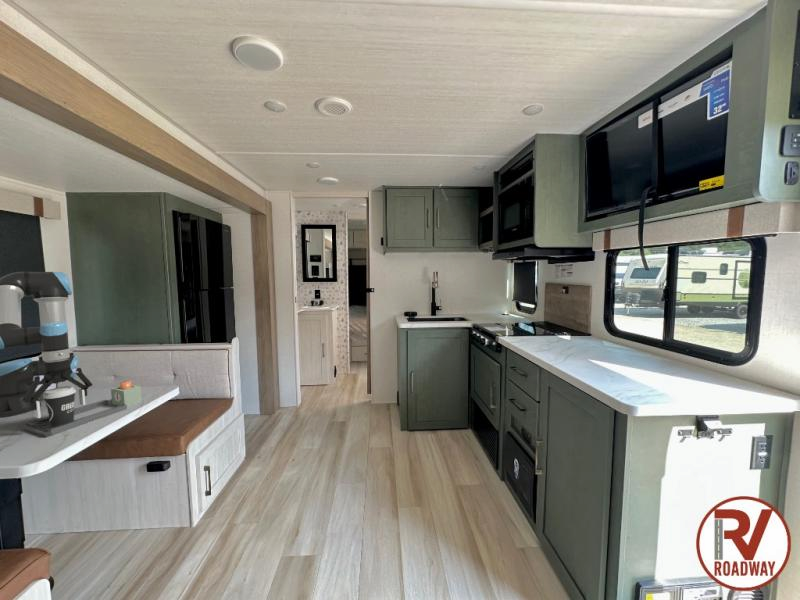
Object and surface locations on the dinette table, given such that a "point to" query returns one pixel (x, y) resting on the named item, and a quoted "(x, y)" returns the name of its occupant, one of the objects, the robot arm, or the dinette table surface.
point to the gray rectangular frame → (35, 425)
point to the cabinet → (126, 395)
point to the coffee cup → (60, 405)
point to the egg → (125, 385)
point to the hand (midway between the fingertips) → (61, 410)
